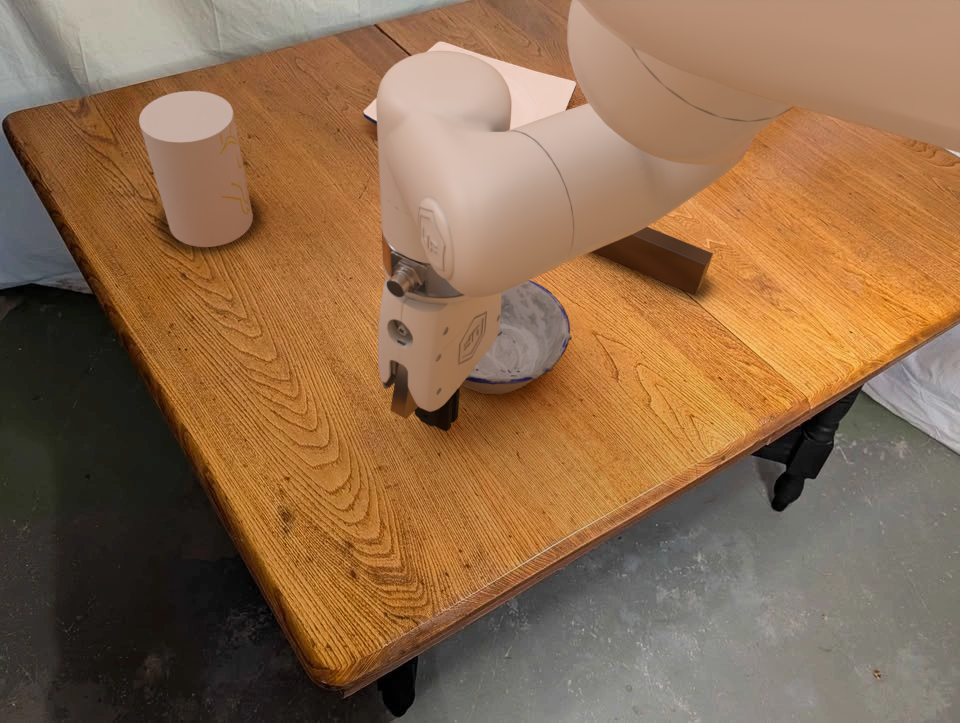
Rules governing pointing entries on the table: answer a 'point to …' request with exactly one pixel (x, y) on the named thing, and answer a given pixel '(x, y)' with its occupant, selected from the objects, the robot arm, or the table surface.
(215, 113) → the pink tall cylinder
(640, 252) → the rail
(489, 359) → the bowl
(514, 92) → the plate
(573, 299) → the table surface
